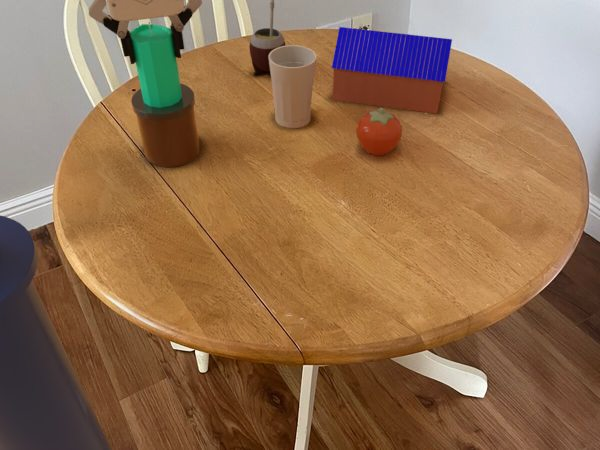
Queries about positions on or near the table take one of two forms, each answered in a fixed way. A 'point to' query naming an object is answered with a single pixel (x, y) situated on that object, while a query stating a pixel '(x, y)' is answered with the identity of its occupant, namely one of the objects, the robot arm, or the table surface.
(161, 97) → the candle
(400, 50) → the house
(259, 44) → the mate gourd
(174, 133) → the jar
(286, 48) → the cup
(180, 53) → the robot arm
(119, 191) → the table surface
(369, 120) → the tomato
